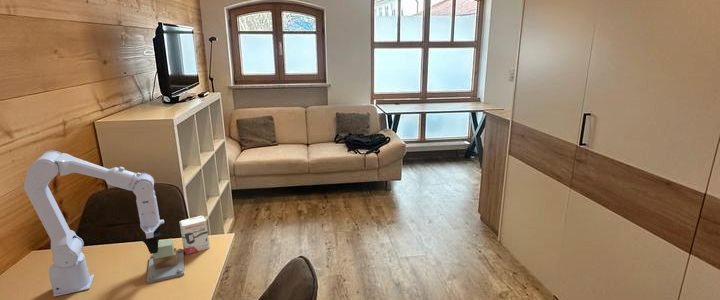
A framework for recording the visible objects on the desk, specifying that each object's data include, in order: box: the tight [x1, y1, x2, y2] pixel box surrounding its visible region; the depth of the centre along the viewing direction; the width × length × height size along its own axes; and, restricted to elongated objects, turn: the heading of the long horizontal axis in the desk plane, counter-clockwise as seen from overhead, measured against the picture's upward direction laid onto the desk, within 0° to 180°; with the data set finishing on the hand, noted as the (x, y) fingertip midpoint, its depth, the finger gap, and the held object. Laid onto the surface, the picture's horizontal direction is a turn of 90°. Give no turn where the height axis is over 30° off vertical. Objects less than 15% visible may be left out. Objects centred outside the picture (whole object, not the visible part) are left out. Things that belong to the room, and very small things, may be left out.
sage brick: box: [153, 238, 175, 259], centre depth 134 cm, size 6×4×4 cm
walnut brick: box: [153, 248, 178, 270], centre depth 136 cm, size 7×4×4 cm, turn 113°
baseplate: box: [146, 248, 185, 284], centre depth 136 cm, size 11×16×2 cm
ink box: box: [178, 215, 211, 256], centre depth 145 cm, size 8×5×12 cm, turn 123°
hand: (154, 247), depth 133 cm, fingers open, 7 cm apart
